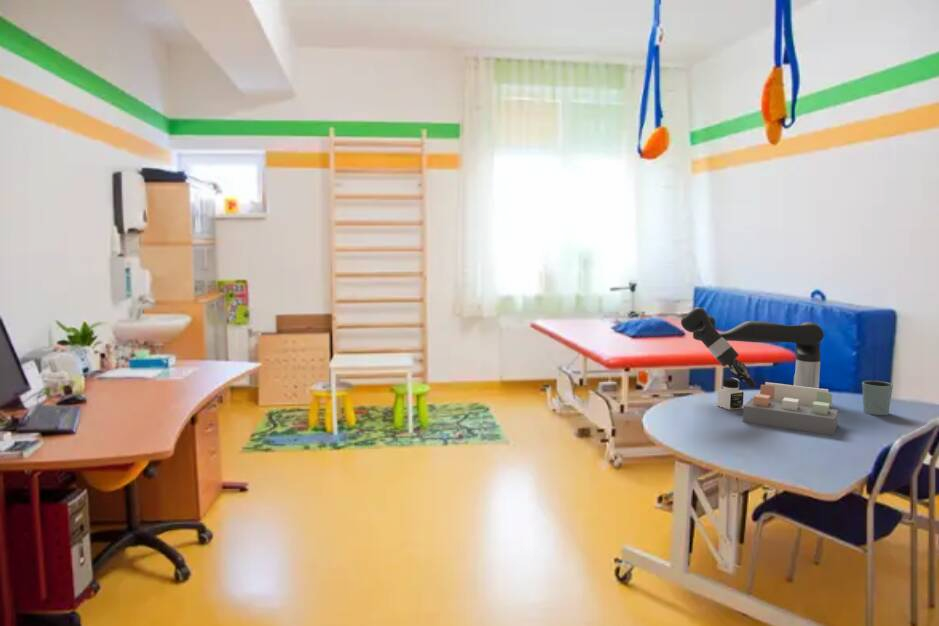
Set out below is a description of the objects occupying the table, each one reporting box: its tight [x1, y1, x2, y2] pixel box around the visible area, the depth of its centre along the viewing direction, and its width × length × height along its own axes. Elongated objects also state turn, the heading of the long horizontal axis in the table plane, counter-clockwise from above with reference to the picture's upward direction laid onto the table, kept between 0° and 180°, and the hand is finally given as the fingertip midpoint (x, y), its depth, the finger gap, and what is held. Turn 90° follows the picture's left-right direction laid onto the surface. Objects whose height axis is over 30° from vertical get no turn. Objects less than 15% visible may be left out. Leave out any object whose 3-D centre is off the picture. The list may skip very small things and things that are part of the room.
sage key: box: [812, 401, 830, 415], centre depth 237 cm, size 5×5×4 cm
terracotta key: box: [753, 393, 770, 407], centre depth 248 cm, size 5×5×4 cm
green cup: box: [861, 380, 893, 416], centre depth 256 cm, size 10×10×12 cm
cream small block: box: [782, 398, 799, 411], centre depth 242 cm, size 5×5×4 cm
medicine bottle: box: [716, 377, 745, 411], centre depth 265 cm, size 7×7×12 cm
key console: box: [742, 381, 839, 436], centre depth 244 cm, size 30×19×12 cm, turn 55°
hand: (754, 386), depth 248 cm, fingers closed
